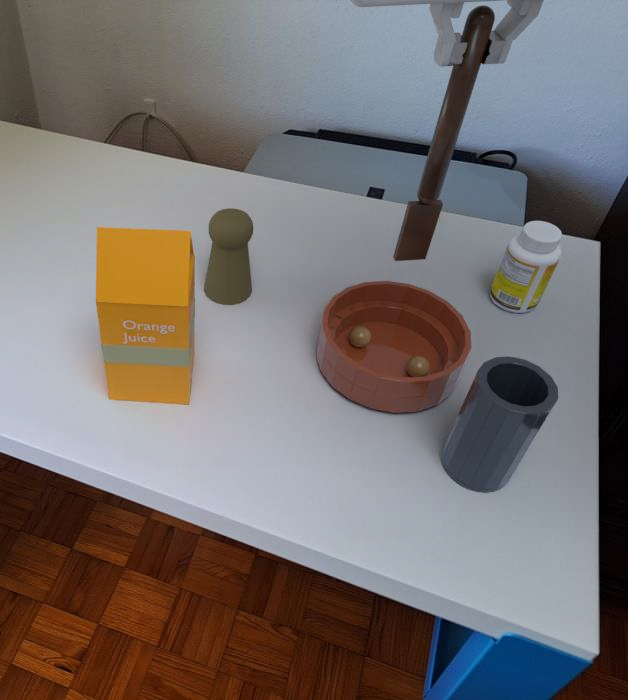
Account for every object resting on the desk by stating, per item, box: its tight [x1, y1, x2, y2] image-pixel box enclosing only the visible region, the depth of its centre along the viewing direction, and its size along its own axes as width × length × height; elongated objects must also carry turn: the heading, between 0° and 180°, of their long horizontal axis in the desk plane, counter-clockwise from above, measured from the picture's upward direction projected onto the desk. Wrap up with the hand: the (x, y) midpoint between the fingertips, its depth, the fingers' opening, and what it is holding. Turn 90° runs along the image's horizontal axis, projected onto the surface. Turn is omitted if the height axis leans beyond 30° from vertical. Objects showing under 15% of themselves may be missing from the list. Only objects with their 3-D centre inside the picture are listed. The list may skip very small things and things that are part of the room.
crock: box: [441, 356, 559, 493], centre depth 63 cm, size 6×6×12 cm
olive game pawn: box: [203, 207, 254, 306], centre depth 82 cm, size 6×6×11 cm
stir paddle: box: [392, 4, 496, 262], centre depth 54 cm, size 3×2×22 cm, turn 93°
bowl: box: [315, 280, 472, 414], centre depth 74 cm, size 15×15×6 cm
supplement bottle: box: [489, 220, 563, 314], centre depth 79 cm, size 6×6×10 cm
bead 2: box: [406, 356, 430, 377], centre depth 73 cm, size 2×2×2 cm
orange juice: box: [95, 226, 196, 406], centre depth 69 cm, size 8×9×20 cm
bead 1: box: [349, 326, 371, 348], centre depth 77 cm, size 2×2×2 cm
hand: (468, 62), depth 49 cm, fingers closed on stir paddle, 2 cm apart
